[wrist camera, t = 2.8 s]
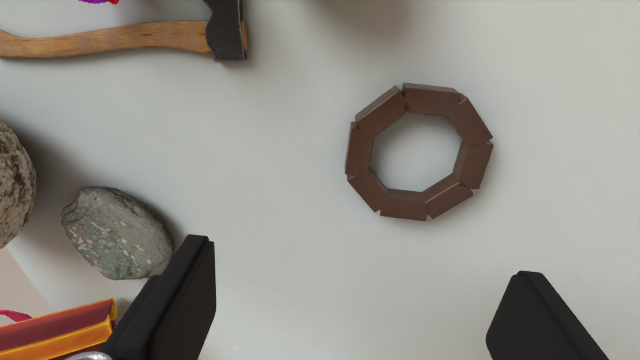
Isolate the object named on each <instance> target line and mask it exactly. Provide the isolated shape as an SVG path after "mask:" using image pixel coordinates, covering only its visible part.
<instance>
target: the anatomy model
mask: <svg viewBox="0 0 640 360" xmlns="http://www.w3.org/2000/svg"><path fill="white" fill-rule="evenodd" d="M79 1H83V2H88V3H94V4H96V3H102V2H103V3H105V2H107V1H109V2H111V3H112V4H114V5H116V4H117V3H118V2H119V0H79Z"/></svg>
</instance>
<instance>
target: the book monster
mask: <svg viewBox="0 0 640 360" xmlns="http://www.w3.org/2000/svg"><path fill="white" fill-rule="evenodd" d="M0 314H4V315H6V316H8V317H9V318H11V319H12V320H14V321H16V322H17V323H13V324H10V325H6V326H2V327H0V360H65V359H67V358H69V357H71V356H73V355H76V354H80V353H83V352H91V351H97V352H99V351H100V349H101V348H102V346H103V345H104V343H105V342H106V340H107V339H108V338H109V336H110V335H111V333H112V332H113V330H114V329H115V327H116V323H115V319H116V316H117V307H116V304H115V300H114V298H110V299H107V300H103V301H99V302H95V303H91V304H87V305H83V306H79V307H75V308H71V309H67V310H63V311H59V312H55V313H51V314H48V315H44V316H40V317H36V318H32V317H30V316H29V315H27V314H23V313H18V312H14V311H9V310H0Z"/></svg>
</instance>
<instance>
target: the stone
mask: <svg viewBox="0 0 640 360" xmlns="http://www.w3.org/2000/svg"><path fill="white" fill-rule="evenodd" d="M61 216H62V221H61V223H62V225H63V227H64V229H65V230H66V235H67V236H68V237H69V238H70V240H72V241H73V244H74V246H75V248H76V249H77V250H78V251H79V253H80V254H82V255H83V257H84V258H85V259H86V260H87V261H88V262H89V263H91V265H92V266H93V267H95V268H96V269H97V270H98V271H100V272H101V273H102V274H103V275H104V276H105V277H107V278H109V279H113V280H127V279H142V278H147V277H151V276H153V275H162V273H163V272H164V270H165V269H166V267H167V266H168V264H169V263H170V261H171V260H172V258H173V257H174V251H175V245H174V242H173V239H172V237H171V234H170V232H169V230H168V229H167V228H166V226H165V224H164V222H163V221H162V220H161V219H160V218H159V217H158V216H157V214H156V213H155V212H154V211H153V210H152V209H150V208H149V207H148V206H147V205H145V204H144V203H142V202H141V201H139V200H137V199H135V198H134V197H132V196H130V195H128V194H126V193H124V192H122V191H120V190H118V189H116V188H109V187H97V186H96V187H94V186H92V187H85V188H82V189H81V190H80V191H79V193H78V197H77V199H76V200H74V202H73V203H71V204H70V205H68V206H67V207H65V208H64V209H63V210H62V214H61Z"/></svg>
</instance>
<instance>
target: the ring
mask: <svg viewBox="0 0 640 360" xmlns="http://www.w3.org/2000/svg"><path fill="white" fill-rule="evenodd" d="M407 112H408V113H417V114H425V115H434V116H443V117H447V118H448V120H449V121H450V123H451V124H452V126H453V127H454V129H455V130H456V132H457V133H458V135H459V136H460V137H461V139H462V142H461V146H460V149H459V152H458V156H457V159H456V163H455V166H454V169H453V173H452V174H451V175H449V176H447V177H446V178H444V179H443V180H441V181H439V182H438V183H436V184H435V185H433V186H431V187H430V188H428V189H426V190H425V191H423V192H414V191H405V190H397V189H388V188H386V187H385V185H384V184H383V183H382V182H381V181H380V179H379V178H378V177H377V176H376V174H375V173H374V172H373V171H372V169H371V168H370V167H369V163H370V157H371V152H372V146H373V140H374V136H375V135H377V134H378V133H379V132H381V131H382V130H384V129H385V128H386V127H388V126H389V125H391V124H392V123H393V122H395V121H396V120H398V119H399V118H400V117H402V116H403V115H405V114H406V113H407ZM355 118H356V122H351V125H350V132H349V139H348V146H347V153H346V160H345V174H347V181H348V182H349V183H350V184H351V186H352V187H353V188H354V189H355V190H356V191H357V193H358V194H359V195H360V196H361V197H362V198H363V200H364V201H365V202H366V203H367V204H368V205H369V207H370V208H371V209H372V210H373V211H374V212H376V211H378V210H380V215H381V216H387V217H395V218H404V219H413V220H421V221H426V218H427V214H429V216H430V217H431V218H432V219H434V218H436V217H437V216H439V215H441V214H442V213H444V212H446V211H447V210H449V209H451V208H453V207H454V206H456V205H458V204H459V203H461V202H463V201H465V200H466V199H468V198H470V197H471V196H473V193H472V191H471V190H470V188H471V189H479V187H480V184H481V181H482V178H483V175H484V172H485V169H486V166H487V163H488V161H489V158H490V155H491V152H492V149H493V144H492V143H491V142H490V141H489V140H490V139H492V138H493V136H492V135H491V133H490V132H489V130H488V129H487V127H486V125H485V124H484V122H483V121H482V119H481V118H480V116H479V115H478V113H477V112H476V110H475V108H474V107H473V105H472V104H471V102H470V101H469V99H468V98H467V97H466V96H464V95H463V94H462V93H459V92H457V91H456V90H455V89H453V88H446V87H437V86H428V85H419V84H410V83H403V86H402V91H401V92H400V90H399V89H398V87H397V86H394V87H392V88H391V89H390V90H388V91H387V92H386V93H384V94H383V95H382V96H380V97H379V98H378V99H376V100H375V101H374V102H372V103H371V104H370V105H368V106H367V107H366V108H364V109H363V110H362V111H360V112H359V113H358V114H356V116H355Z"/></svg>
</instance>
